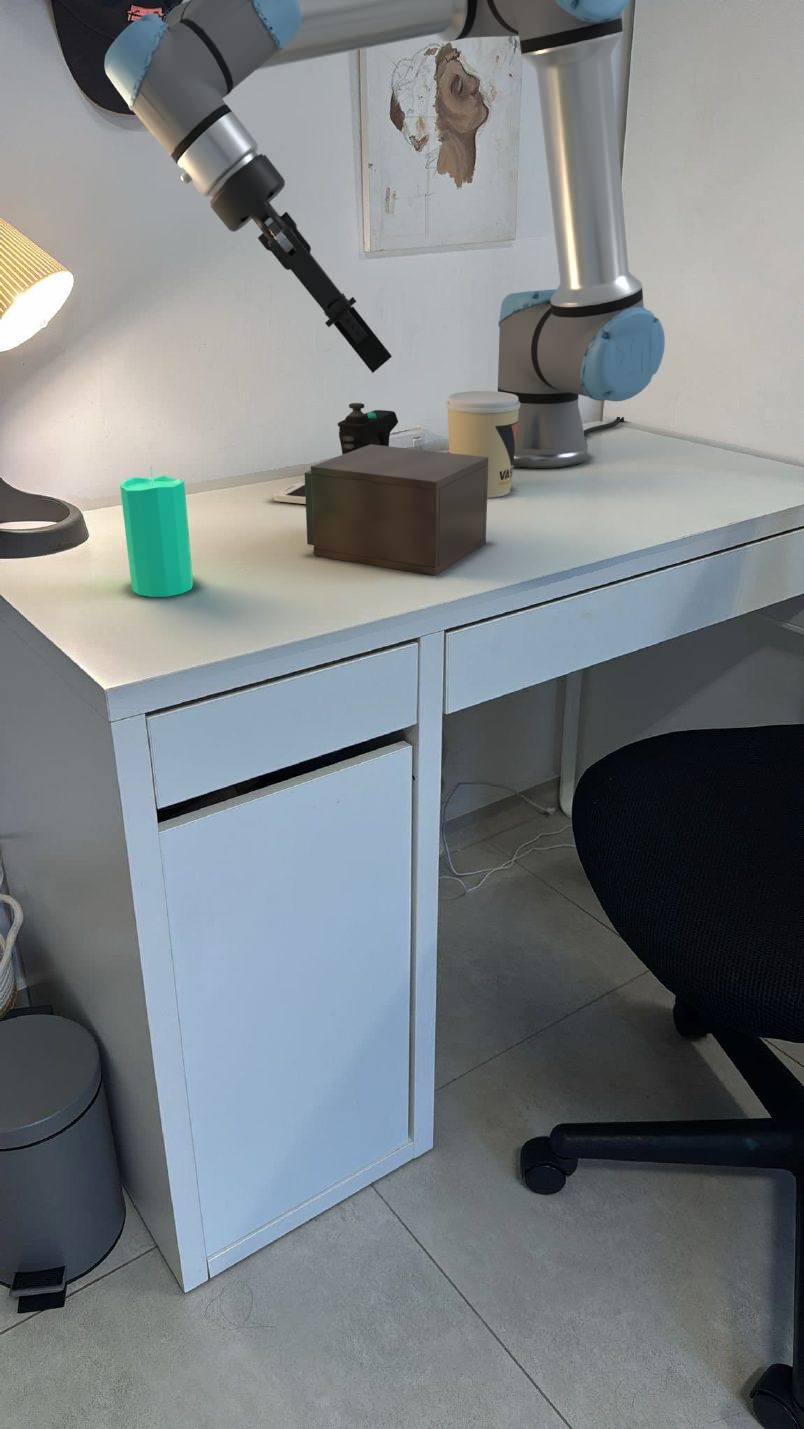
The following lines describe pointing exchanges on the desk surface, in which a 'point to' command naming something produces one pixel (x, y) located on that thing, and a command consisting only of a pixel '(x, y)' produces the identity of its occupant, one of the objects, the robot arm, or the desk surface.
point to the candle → (157, 535)
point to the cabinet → (400, 507)
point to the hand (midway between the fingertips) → (381, 364)
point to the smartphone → (292, 494)
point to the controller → (365, 428)
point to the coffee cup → (486, 432)
